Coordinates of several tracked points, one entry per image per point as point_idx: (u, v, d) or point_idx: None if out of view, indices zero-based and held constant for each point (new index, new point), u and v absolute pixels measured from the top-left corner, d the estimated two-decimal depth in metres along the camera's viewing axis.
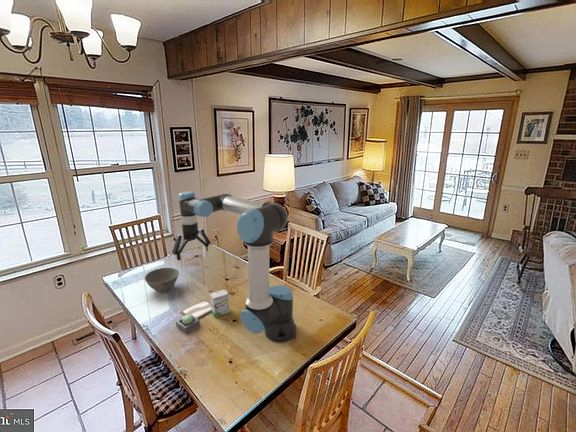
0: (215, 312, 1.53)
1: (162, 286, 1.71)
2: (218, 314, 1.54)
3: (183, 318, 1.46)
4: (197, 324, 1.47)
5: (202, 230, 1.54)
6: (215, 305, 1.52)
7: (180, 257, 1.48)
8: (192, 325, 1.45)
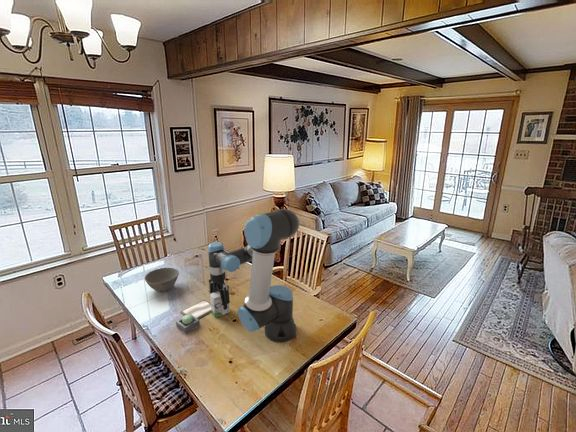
0: (215, 312, 1.53)
1: (162, 286, 1.71)
2: (218, 314, 1.54)
3: (183, 318, 1.46)
4: (197, 324, 1.47)
5: (224, 288, 1.48)
6: (215, 304, 1.52)
7: None
8: (192, 325, 1.45)
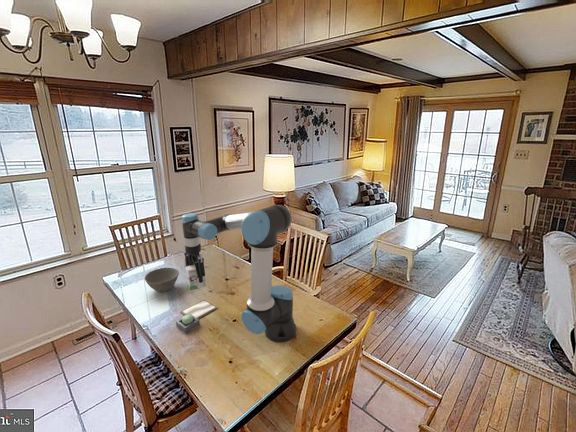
0: (190, 285, 1.51)
1: (162, 286, 1.71)
2: (194, 287, 1.52)
3: (183, 318, 1.46)
4: (197, 324, 1.47)
5: (198, 260, 1.46)
6: (190, 277, 1.49)
7: None
8: (192, 325, 1.45)
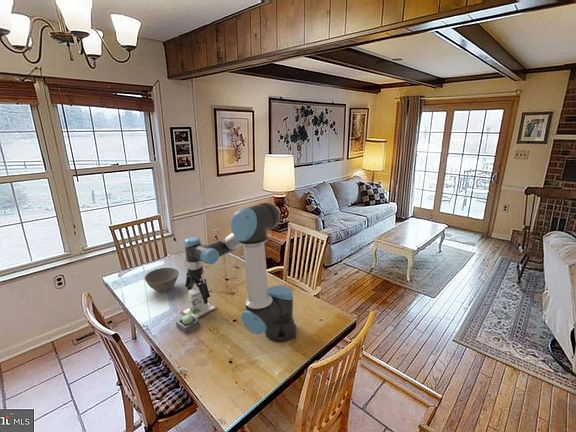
0: (193, 308, 1.55)
1: (162, 286, 1.71)
2: (196, 310, 1.56)
3: (183, 318, 1.46)
4: (197, 324, 1.47)
5: (200, 281, 1.49)
6: (193, 301, 1.53)
7: None
8: (192, 325, 1.45)
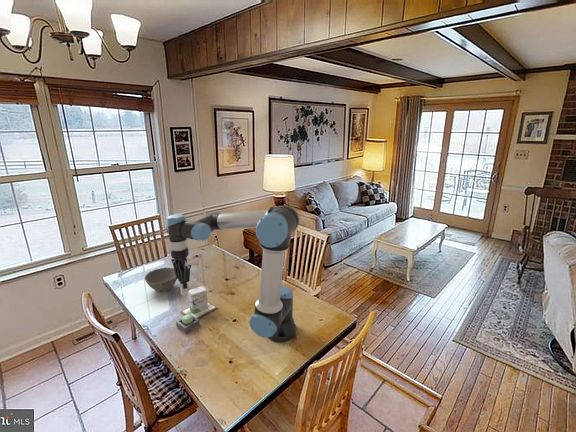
0: (193, 308, 1.55)
1: (162, 286, 1.71)
2: (196, 310, 1.56)
3: (183, 318, 1.46)
4: (197, 324, 1.47)
5: (185, 267, 1.33)
6: (193, 301, 1.53)
7: None
8: (192, 325, 1.45)
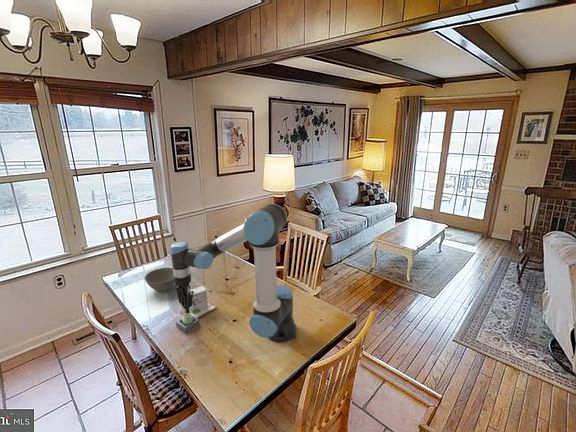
0: (193, 308, 1.55)
1: (162, 286, 1.71)
2: (196, 310, 1.56)
3: (183, 318, 1.46)
4: (197, 324, 1.47)
5: (188, 293, 1.37)
6: (193, 301, 1.53)
7: (183, 309, 1.44)
8: (192, 325, 1.45)
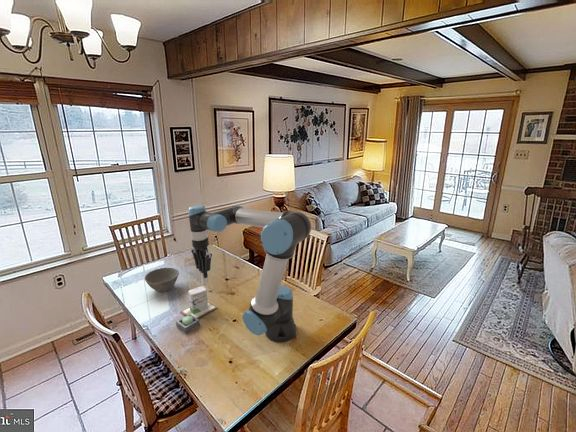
0: (193, 308, 1.55)
1: (162, 286, 1.71)
2: (196, 310, 1.56)
3: (183, 320, 1.46)
4: (197, 324, 1.47)
5: (206, 256, 1.38)
6: (193, 301, 1.53)
7: (201, 274, 1.45)
8: (192, 325, 1.45)
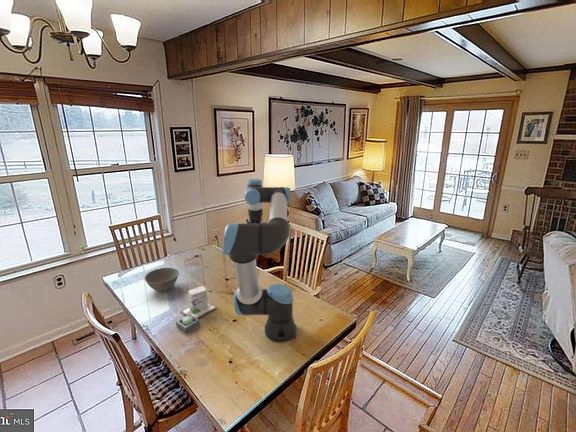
0: (193, 308, 1.55)
1: (162, 286, 1.71)
2: (196, 310, 1.56)
3: (183, 320, 1.46)
4: (197, 324, 1.47)
5: None
6: (193, 301, 1.53)
7: None
8: (192, 325, 1.45)
